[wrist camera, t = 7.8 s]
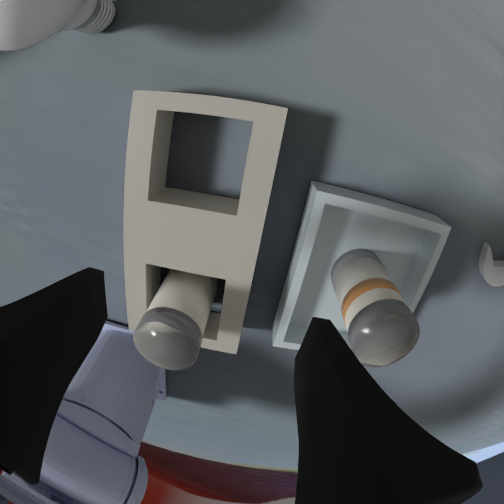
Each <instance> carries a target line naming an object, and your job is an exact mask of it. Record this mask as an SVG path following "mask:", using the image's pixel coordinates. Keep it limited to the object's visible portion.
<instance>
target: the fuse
mask: <svg viewBox="0 0 504 504" xmlns="http://www.w3.org/2000/svg"><path fill="white" fill-rule="evenodd" d="M217 288H218V278H214V277H209V276H204V275H199V274H194V273H189V272H184V271H179V270H175V269H170V270H169V271H168V273H167V275H166V277H165V279H164V281H163V283H162V285H161V286H160V288H159V290H158V292H157V293H156V295H155V297H154V299H153V300H152V302H151V304H150V306H149V308H148V309H147V311H146V313H145V314H144V315H143V317H142V318H141V320H140V322H139V324H138V326H137V327H136V329H135V331H134V335H133V340H134V344H135V347H136V349H137V350H138V352H139V353H140V354H141V355H142V356H143V357H144V358H145V359H146V360H148V361H149V362H150V363H152V364H154V365H156V366H158V367H161V368H164V369H168V370H183V369H187V368H189V367H191V366H192V365H194V364H195V362H196V361H197V359H198V355H199V352H200V348H201V344H202V338H203V334H204V331H205V327H206V324H207V320H208V317H209V313H210V310H211V306H212V303H213V300H214V298H215V295H216V292H217Z"/></svg>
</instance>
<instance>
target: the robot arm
mask: <svg viewBox="0 0 504 504" xmlns="http://www.w3.org/2000/svg"><path fill="white" fill-rule="evenodd" d="M107 317H108V315H107V305H106V295H105V283H104V271H101V270H97V269H94V268H90V267H89V268H86V269H84V270H81V271H79V272H77V273H75V274H72V275H70V276H68V277H66V278H64V279H62V280H60V281H58V282H56V283H54V284H52V285H50V286H48V287H46V288H44V289H42V290H39V291H37V292H35V293H33V294H31V295H28V296H26V297H24V298H22V299H20V300H18V301H15V302H13V303H10V304H8V305H5V306H2V307H0V471H1V470H3V474H0V504H9V502H8V500H9V501H11V502H12V503H14V504H140V503H141V501H142V499H143V496H144V493H145V490H146V486H147V481H148V470H147V467H146V465H145V461H144V459H143V458H142V457H140V456H138V452H139V448H140V445H139V444H140V442H141V441H142V439H143V436H144V433H145V430H146V427H147V424H148V421H149V418H150V415H151V412H152V409H153V406H154V403H155V400H156V398H157V399H160V400H165V399H166V396H167V395H166V371H165V369H164V368H161V367H158V366H156V365H154V364H152V363H150V362H149V361H148V360H146V359H145V358H144V357H143V356H142V355H141V354H140V353H139V352H138V350H137V349H136V347H135V344H134V340H133V335H134V331H130V330H129V327H126V326H123V325H119V324H115V323H112V322H109V321H106V320H107ZM294 390H295V402H296V413H297V425H298V436H299V461H298V478H297V490H296V500H295V504H461V503H462V502H464V501H466V500H467V499H469V498H471V497H472V496H474V495H475V494H476V493H478V492H479V491H480V490H481V488H482V487H483V485H482V481H481V478H480V475H479V471H478V468H477V465H476V463H475V462H474V461H472V460H470V459H469V458H467V457H465V456H463V455H461V454H460V453H458V452H456V451H454V450H453V449H451V448H449V447H448V446H446V445H445V444H443V443H442V442H440V441H439V440H438V439H436V438H435V437H433V436H432V435H431V434H429V433H428V432H427V431H425V430H424V429H423V428H422V427H421V426H419V425H418V424H417V423H416V422H415V421H414V420H412V419H411V418H410V417H409V416H408V415H407V414H406V413H405V412H404V411H402V410H401V409H400V408H399V407H398V406H397V405H396V403H395V402H394V401H393V400H392V399H391V398H390V397H389V396H388V395H387V394H386V393H385V392H384V391H383V390H382V389H381V387H380V386H379V385H378V384H377V383H376V381H375V380H374V379H373V378H372V377H371V375H370V374H369V373H368V372H367V370H366V369H365V368H364V366H363V365H362V364H361V362H360V361H359V360H358V358H357V357H356V356H355V354H354V353H353V351H352V350H351V349H350V347H349V346H348V344H347V343H346V341H345V340H344V339H343V337H342V336H341V334H340V333H339V331H338V330H337V329H336V327H335V326H334V324H333V323H332V322H331V320H330V319H324V318H318V317H312V320H311V322H310V325H309V327H308V329H307V332H306V334H305V337H304V339H303V341H302V344H301V346H300V349H299V351H298V353H297V356H296V358H295V371H294ZM7 499H8V500H7Z"/></svg>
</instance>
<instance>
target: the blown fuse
mask: <svg viewBox="0 0 504 504" xmlns="http://www.w3.org/2000/svg"><path fill="white" fill-rule="evenodd" d="M331 281H332V285H333V288H334V291H335V294H336V296H337V298H338V301H339V305H340V308H341V313H342V317H343V320H344V324H345V327H346V329H347V332H348V339H349V343H350V347H351V350H352V351H353V353H354V354H355V356H356V357H357V358H358V360H359V361H360V362H361V364H362V365H364V366H367V367H382V366H387V365H390V364H392V363H395V362H397V361H398V360H400V359H402V358H403V357H404V356H406V355H407V354H408V353H409V352H410V351H411V350H412V349H413V347H414V346H415V344H416V343H417V340H418V338H419V333H420V329H419V325H418V322H417V321H416V319H415V317H414V315H413V314H412V312H411V310H410V308H409V307H408V306H407V305H406V303H405V302H404V299H403V297H402V295H401V294H400V292H399V290H398V289H397V287H396V286H395V285H394V283H393V281H392V280H391V278H390V277H389V275H388V273H387V272H386V269H385V267H384V265H383V264H382V262H381V261H380V259H379V258H378V256H377V255H376V254H375V253H373V252H372V251H370V250H367V249H353V250H350V251H348V252H346V253H344V254H343V255H341V256H340V257H339V258H338V259H337V260H336V262H335V263H334V265H333V267H332V270H331Z"/></svg>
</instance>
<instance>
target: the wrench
mask: <svg viewBox="0 0 504 504" xmlns="http://www.w3.org/2000/svg"><path fill="white" fill-rule="evenodd" d="M479 270H480V273H481V276H482V277H483V279H484V280H485V281H486V282H487V283H488V284H490V285H491V286H494V287H499V286H503V285H504V260H494V261H493V257H492V252H491V247H490V245H489V244H488V243H487V242H486V241H485V242H484V244H483V246H482V249H481V253H480V258H479Z"/></svg>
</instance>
